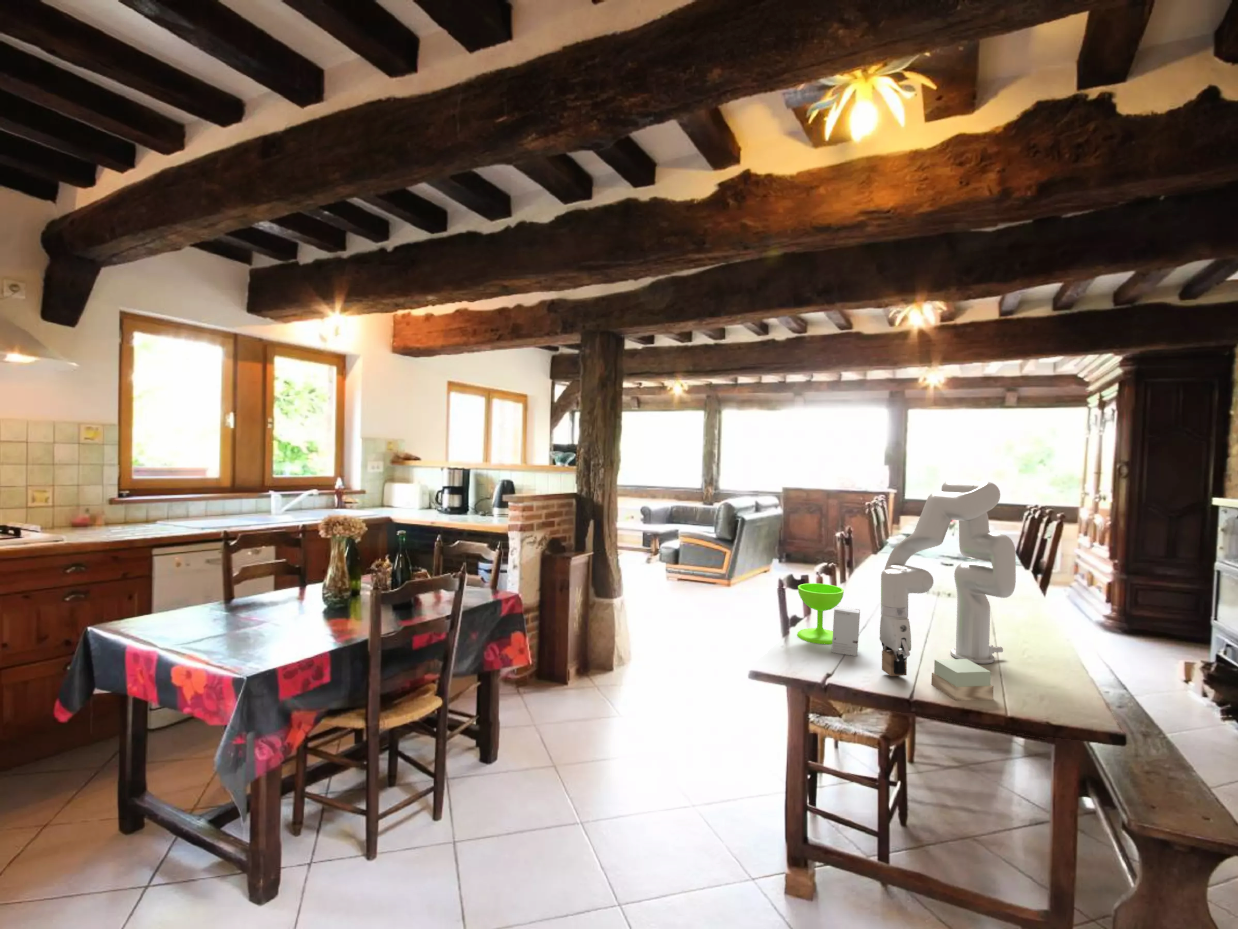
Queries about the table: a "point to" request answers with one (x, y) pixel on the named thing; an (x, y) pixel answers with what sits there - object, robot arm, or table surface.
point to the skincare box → (845, 630)
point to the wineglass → (819, 609)
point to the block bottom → (962, 690)
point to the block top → (962, 672)
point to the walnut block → (890, 662)
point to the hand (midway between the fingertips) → (894, 669)
